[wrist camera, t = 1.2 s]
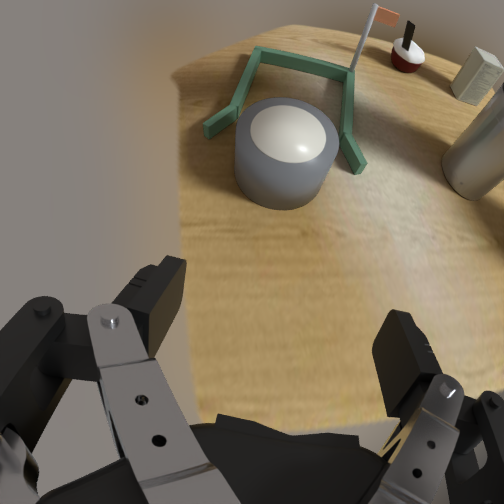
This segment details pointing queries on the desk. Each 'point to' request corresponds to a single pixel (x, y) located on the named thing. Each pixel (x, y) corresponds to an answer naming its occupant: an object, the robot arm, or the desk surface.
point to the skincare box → (476, 76)
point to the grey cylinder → (283, 152)
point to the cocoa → (407, 52)
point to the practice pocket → (313, 67)
